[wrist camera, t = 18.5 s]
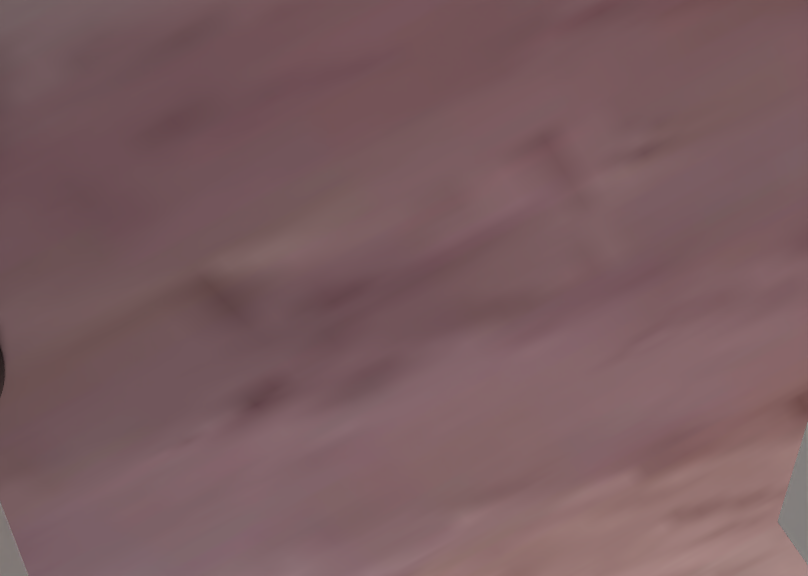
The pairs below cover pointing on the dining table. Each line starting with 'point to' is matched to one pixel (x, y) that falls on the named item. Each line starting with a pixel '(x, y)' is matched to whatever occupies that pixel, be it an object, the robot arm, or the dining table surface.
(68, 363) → the dining table surface
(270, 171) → the dining table surface
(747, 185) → the dining table surface
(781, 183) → the dining table surface
